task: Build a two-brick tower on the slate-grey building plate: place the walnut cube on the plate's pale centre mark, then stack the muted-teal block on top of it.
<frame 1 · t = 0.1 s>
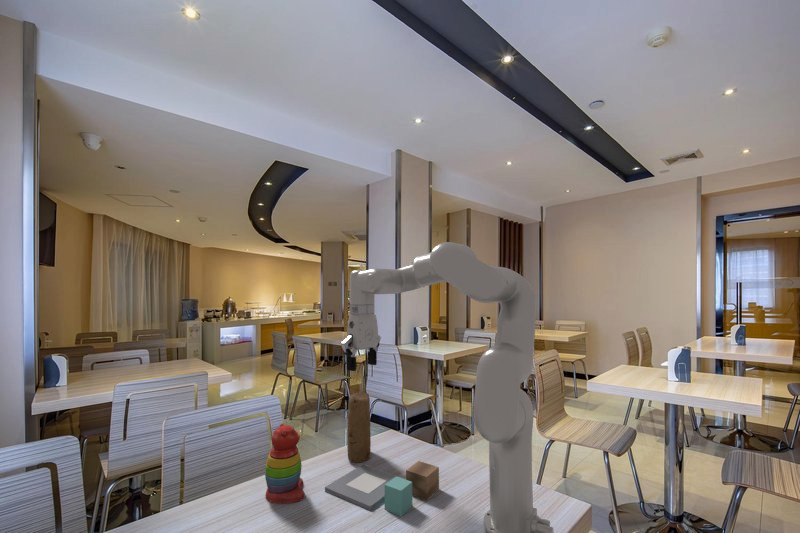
hand: (362, 367, 113), 31 cm above the table, fingers open, 9 cm apart
brown rounded lumpy part: (359, 457, 122), on the table
teal block: (398, 507, 93), on the table
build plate: (366, 486, 103), on the table
stacking bear: (284, 494, 100), on the table
walnut cube: (422, 491, 101), on the table
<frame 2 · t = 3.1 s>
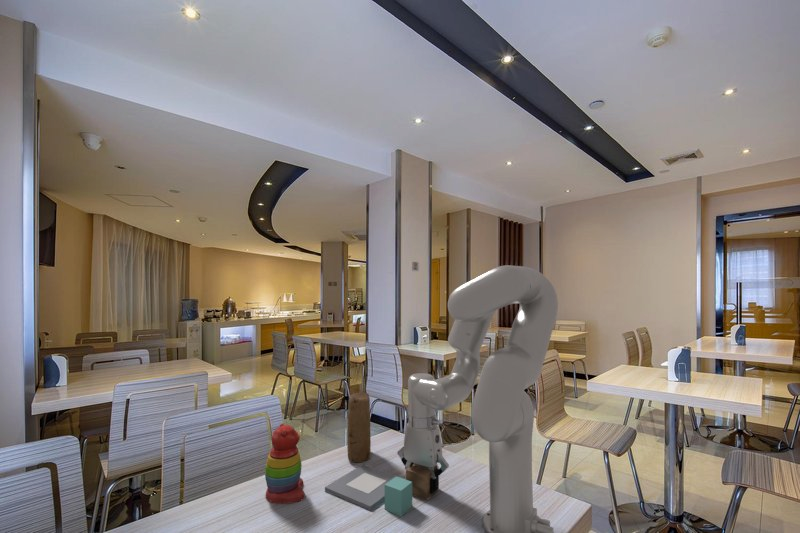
hand: (422, 487, 101), 1 cm above the table, fingers closed on walnut cube, 6 cm apart
walnut cube: (422, 490, 101), on the table, touching gripper
everything else where it was.
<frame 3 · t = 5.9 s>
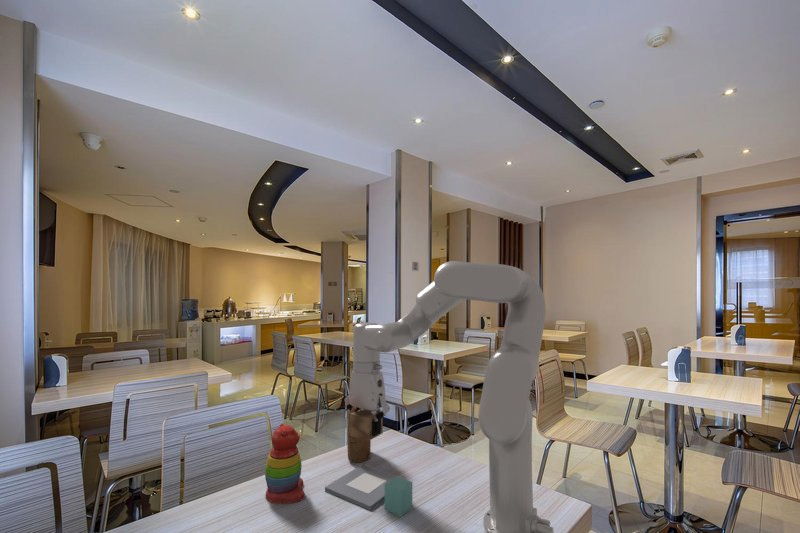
hand: (366, 431, 104), 15 cm above the table, fingers closed on walnut cube, 6 cm apart
walnut cube: (366, 434, 104), point 14 cm above the table, touching gripper
everything else where it was.
when the fingers open (3 cm above the table, at t = 8.4 s): walnut cube drops 1 cm, resting on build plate.
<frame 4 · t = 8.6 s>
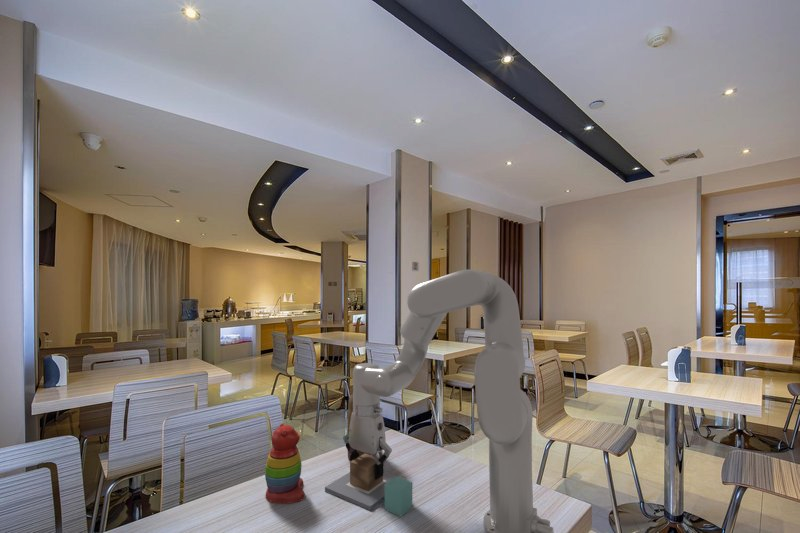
hand: (366, 472, 103), 4 cm above the table, fingers open, 8 cm apart
walnut cube: (366, 482, 103), point 1 cm above the table, touching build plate
everything else where it was.
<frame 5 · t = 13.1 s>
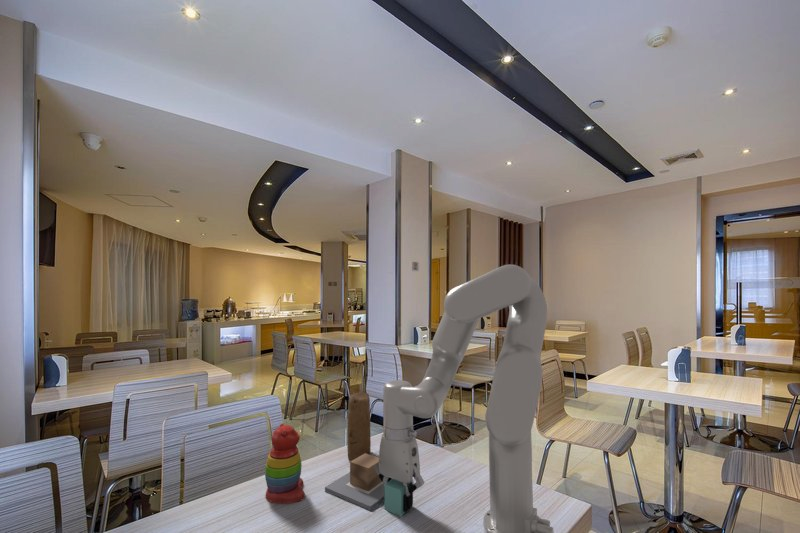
hand: (398, 504, 93), 1 cm above the table, fingers closed on teal block, 5 cm apart
teal block: (398, 507, 93), on the table, touching gripper
everything else where it was.
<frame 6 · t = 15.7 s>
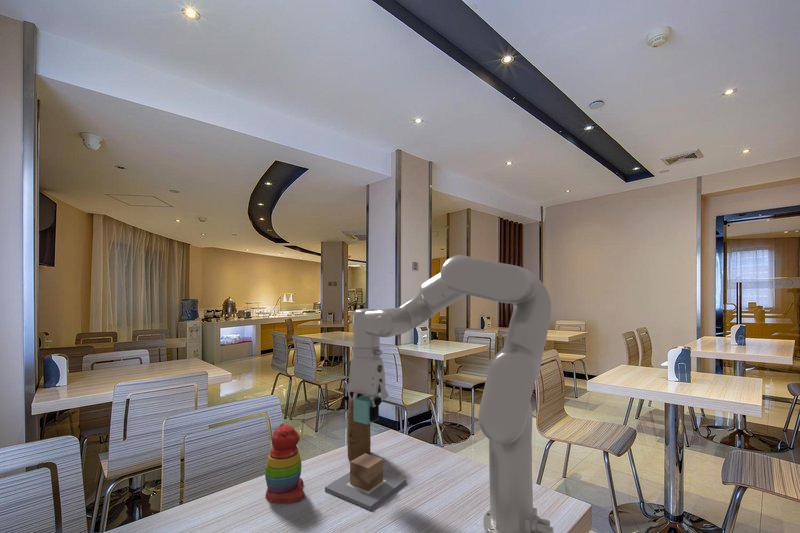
hand: (366, 417, 104), 19 cm above the table, fingers closed on teal block, 4 cm apart
teal block: (366, 420, 104), point 18 cm above the table, touching gripper
everything else where it was.
when the fingers open (9 cm above the table, at t = 18.2 s): teal block drops 1 cm, resting on walnut cube.
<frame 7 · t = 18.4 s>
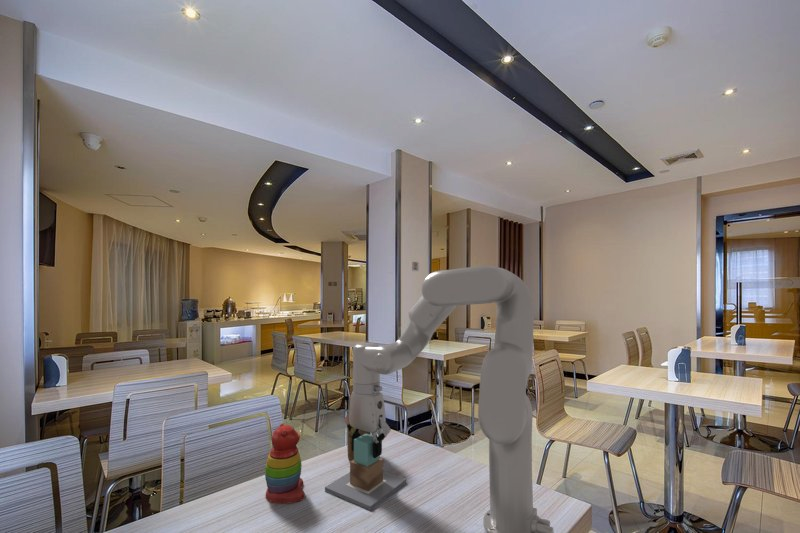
hand: (366, 452, 104), 9 cm above the table, fingers open, 7 cm apart
teal block: (366, 460, 104), point 7 cm above the table, touching walnut cube
walnut cube: (366, 482, 103), point 1 cm above the table, touching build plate, teal block
everything else where it was.
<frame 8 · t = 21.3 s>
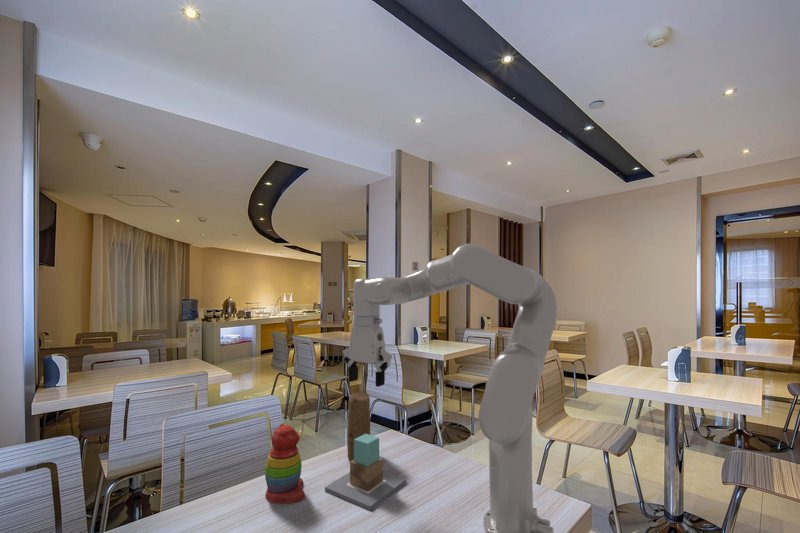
hand: (366, 383, 105), 28 cm above the table, fingers open, 9 cm apart
nothing on the table moved.
at the end: walnut cube inside the target area on the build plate (0.1 cm from its centre), point 1.1 cm above the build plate's base; teal block 0.1 cm off-centre on the walnut cube, point 6.0 cm above the walnut cube's base; teal block tilted 0° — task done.
